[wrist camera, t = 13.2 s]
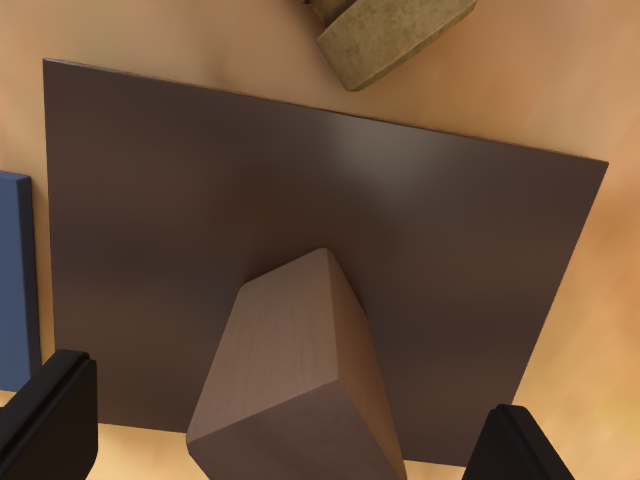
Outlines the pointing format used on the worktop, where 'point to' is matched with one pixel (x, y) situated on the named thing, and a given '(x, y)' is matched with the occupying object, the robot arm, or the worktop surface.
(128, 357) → the walnut board
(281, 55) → the worktop surface
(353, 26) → the gavel
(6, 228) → the blue box
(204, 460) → the wooden block
